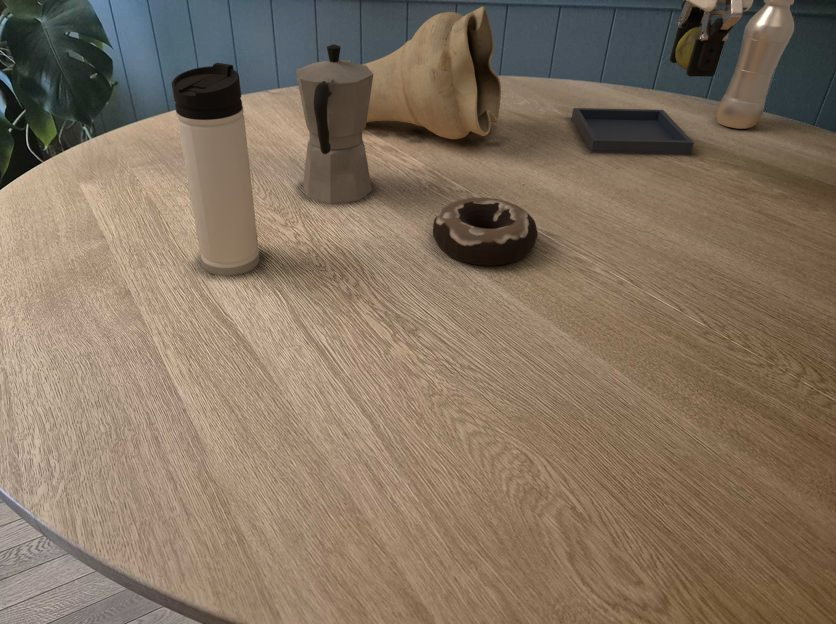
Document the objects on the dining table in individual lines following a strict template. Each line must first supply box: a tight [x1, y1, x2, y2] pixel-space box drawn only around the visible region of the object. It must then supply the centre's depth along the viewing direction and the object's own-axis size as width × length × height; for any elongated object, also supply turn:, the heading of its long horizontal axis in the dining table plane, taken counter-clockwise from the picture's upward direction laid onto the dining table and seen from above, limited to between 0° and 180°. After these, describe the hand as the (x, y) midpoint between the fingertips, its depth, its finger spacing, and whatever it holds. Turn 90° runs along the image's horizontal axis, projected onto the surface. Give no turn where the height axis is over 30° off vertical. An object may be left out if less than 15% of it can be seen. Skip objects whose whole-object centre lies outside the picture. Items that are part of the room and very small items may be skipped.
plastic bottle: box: [715, 0, 795, 130], centre depth 101 cm, size 6×7×20 cm
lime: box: [675, 27, 701, 71], centre depth 79 cm, size 4×5×5 cm
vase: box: [362, 6, 502, 140], centre depth 101 cm, size 22×22×28 cm
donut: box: [432, 197, 538, 267], centre depth 75 cm, size 12×12×4 cm
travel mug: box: [171, 62, 261, 277], centre depth 66 cm, size 6×7×20 cm
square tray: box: [570, 107, 695, 156], centre depth 103 cm, size 15×15×2 cm
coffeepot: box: [295, 43, 374, 205], centre depth 81 cm, size 15×9×18 cm, turn 171°
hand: (691, 67), depth 81 cm, fingers closed on lime, 5 cm apart
